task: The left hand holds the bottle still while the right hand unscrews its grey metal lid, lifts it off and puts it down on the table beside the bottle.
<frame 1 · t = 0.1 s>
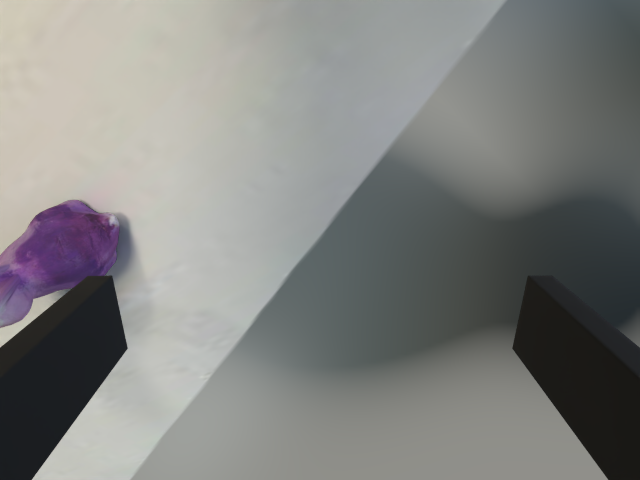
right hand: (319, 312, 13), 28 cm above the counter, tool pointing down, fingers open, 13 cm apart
figurine: (81, 243, 42), on the counter
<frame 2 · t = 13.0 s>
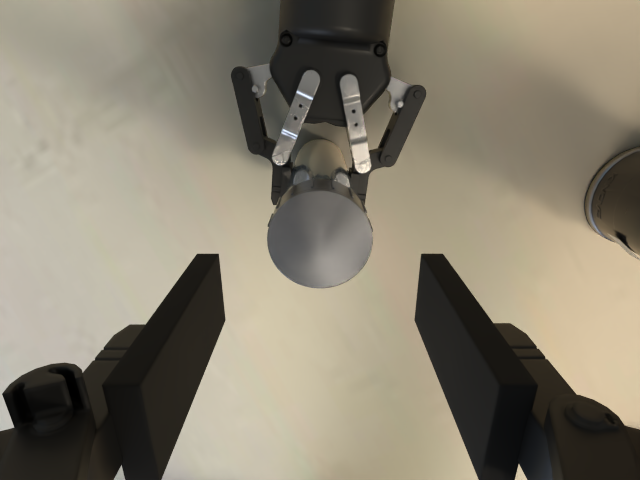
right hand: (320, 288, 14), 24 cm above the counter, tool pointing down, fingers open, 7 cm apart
left hand: (316, 212, 32), fingers closed on bottle, 4 cm apart
lid: (319, 239, 19), point 20 cm above the counter, screwed on, not yet turned
bottle: (319, 163, 37), on the counter, touching left hand
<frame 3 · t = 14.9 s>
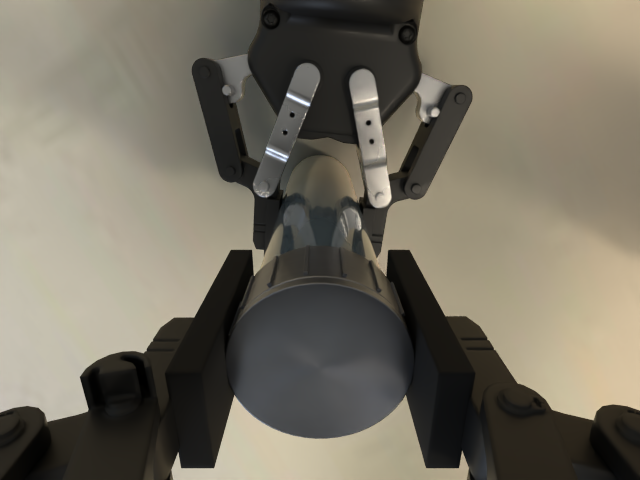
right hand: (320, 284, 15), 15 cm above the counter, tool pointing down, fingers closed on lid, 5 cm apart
left hand: (315, 257, 23), fingers closed on bottle, 4 cm apart
lid: (320, 359, 11), point 20 cm above the counter, screwed on, not yet turned, touching right hand
bottle: (320, 186, 29), on the counter, touching left hand
when the right hand's fingers open (15 cm above the counter, at t = 16.1 s): lid stays where it is, point 20 cm above the counter.
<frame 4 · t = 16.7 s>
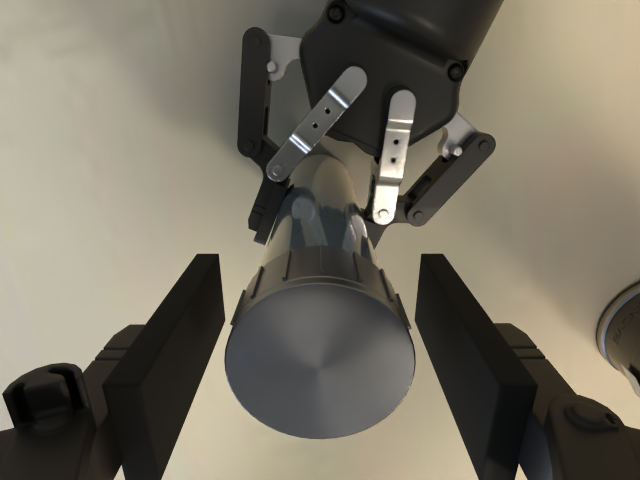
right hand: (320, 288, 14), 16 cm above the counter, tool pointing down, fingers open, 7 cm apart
left hand: (302, 252, 24), fingers closed on bottle, 4 cm apart
lid: (320, 359, 11), point 20 cm above the counter, turned 75° so far, risen 0.2 cm, still on its thread
bottle: (320, 185, 29), on the counter, touching left hand
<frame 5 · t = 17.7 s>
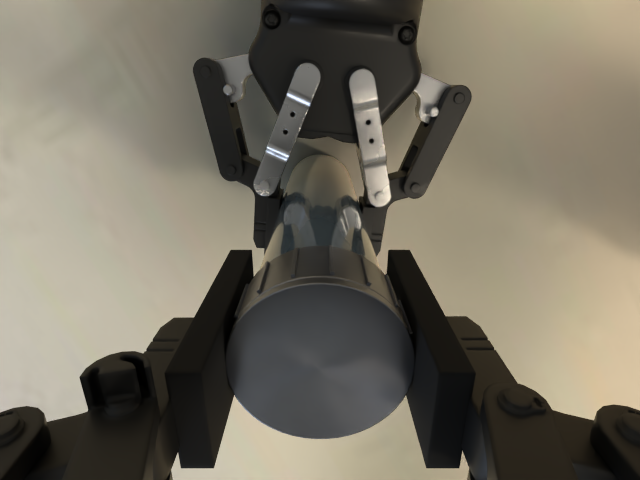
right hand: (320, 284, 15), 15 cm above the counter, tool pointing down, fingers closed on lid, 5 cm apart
left hand: (315, 256, 24), fingers closed on bottle, 4 cm apart
lid: (320, 359, 11), point 20 cm above the counter, turned 75° so far, risen 0.2 cm, still on its thread, touching right hand
bottle: (320, 185, 29), on the counter, touching left hand
when the right hand's fingers open (0 cm above the counter, at t = 24.6 s): lid drops 2 cm, point 2 cm above the counter.
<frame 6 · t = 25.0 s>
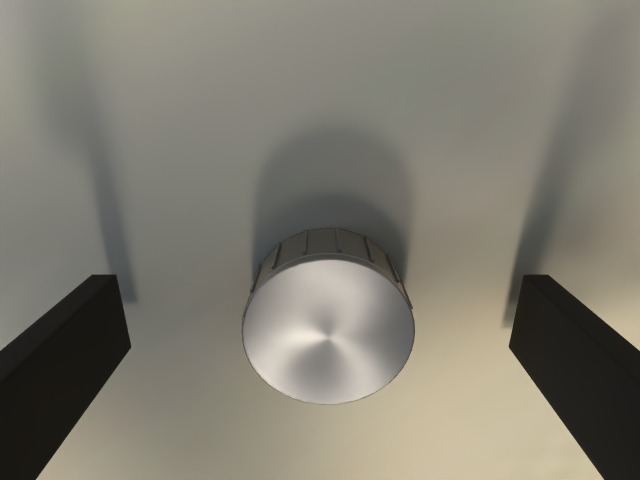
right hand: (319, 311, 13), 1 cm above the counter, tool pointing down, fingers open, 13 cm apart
lid: (328, 330, 12), point 2 cm above the counter, off its thread
when the left hand's fingers open (7 cm above the counter, at t = 25.7 s): bottle stays where it is, on the counter.
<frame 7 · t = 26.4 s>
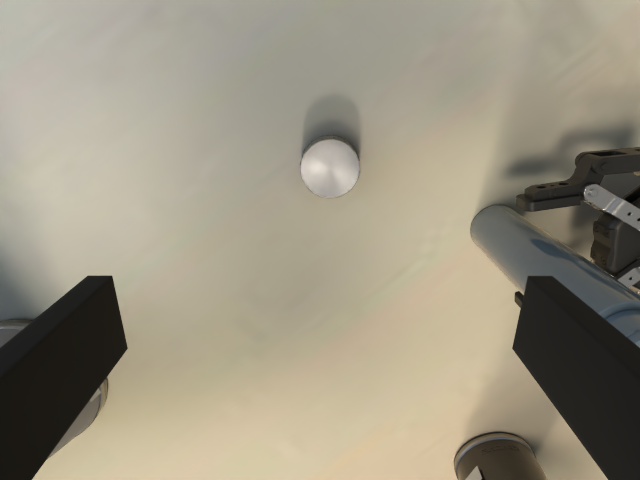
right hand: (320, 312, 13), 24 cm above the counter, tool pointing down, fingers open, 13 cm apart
lid: (330, 168, 33), point 2 cm above the counter, off its thread
bottle: (494, 227, 37), on the counter
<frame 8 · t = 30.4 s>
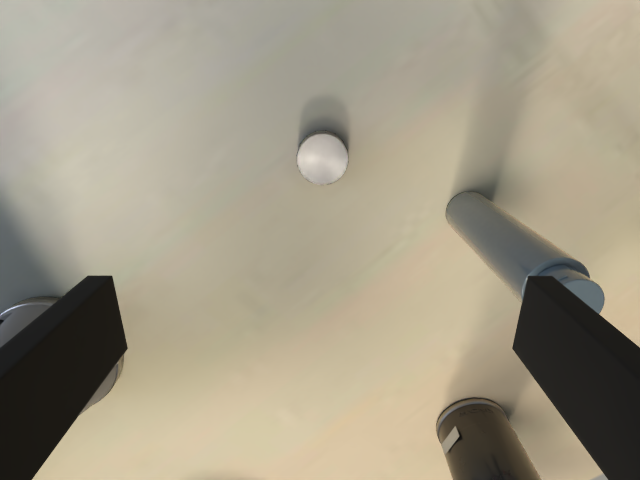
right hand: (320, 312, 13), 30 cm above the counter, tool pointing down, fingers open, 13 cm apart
lid: (322, 159, 38), point 2 cm above the counter, off its thread
bottle: (466, 211, 43), on the counter
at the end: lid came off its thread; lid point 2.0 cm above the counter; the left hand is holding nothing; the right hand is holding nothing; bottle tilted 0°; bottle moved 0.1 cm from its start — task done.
